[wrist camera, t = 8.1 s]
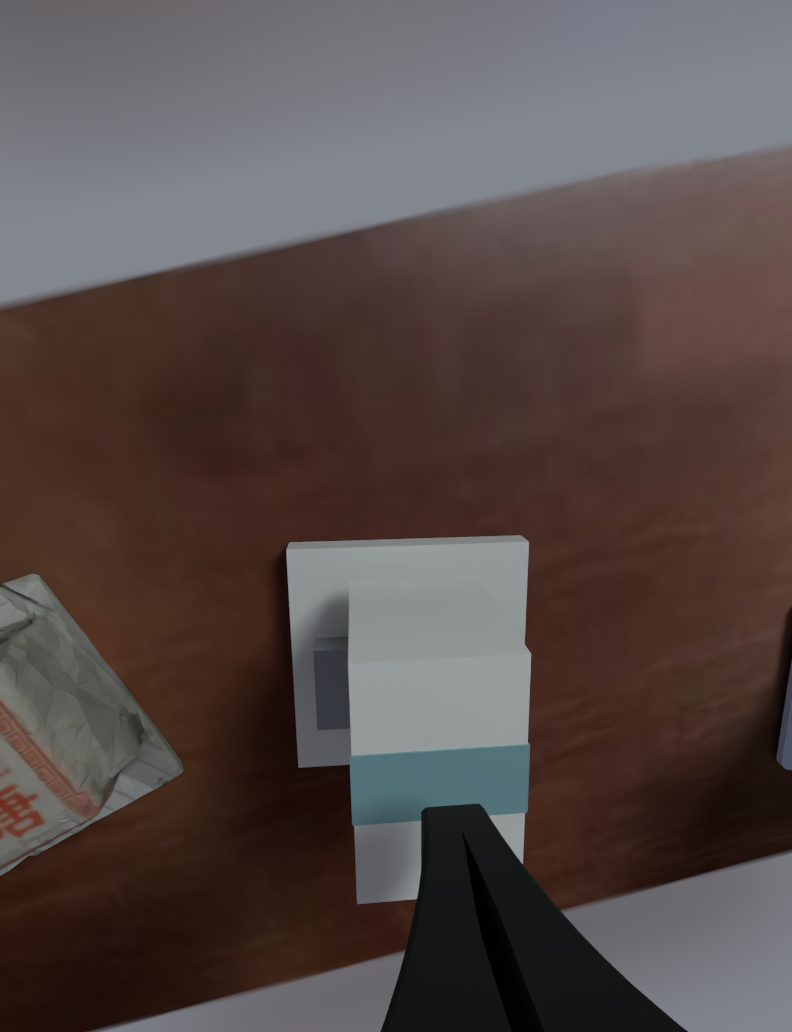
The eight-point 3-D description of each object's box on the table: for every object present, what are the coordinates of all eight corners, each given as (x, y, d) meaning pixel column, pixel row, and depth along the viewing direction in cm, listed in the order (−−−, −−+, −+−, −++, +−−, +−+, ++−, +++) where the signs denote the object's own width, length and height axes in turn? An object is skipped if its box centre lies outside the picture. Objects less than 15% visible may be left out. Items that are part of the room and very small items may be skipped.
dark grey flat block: (508, 629, 20) (516, 641, 19) (505, 704, 20) (513, 718, 19) (315, 638, 19) (313, 651, 18) (319, 714, 20) (317, 730, 19)
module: (477, 576, 19) (534, 654, 13) (474, 750, 20) (524, 891, 15) (347, 582, 19) (345, 664, 13) (354, 758, 20) (355, 905, 14)
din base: (520, 535, 21) (528, 541, 20) (512, 739, 23) (519, 753, 22) (289, 542, 20) (286, 549, 19) (300, 751, 22) (298, 767, 21)
